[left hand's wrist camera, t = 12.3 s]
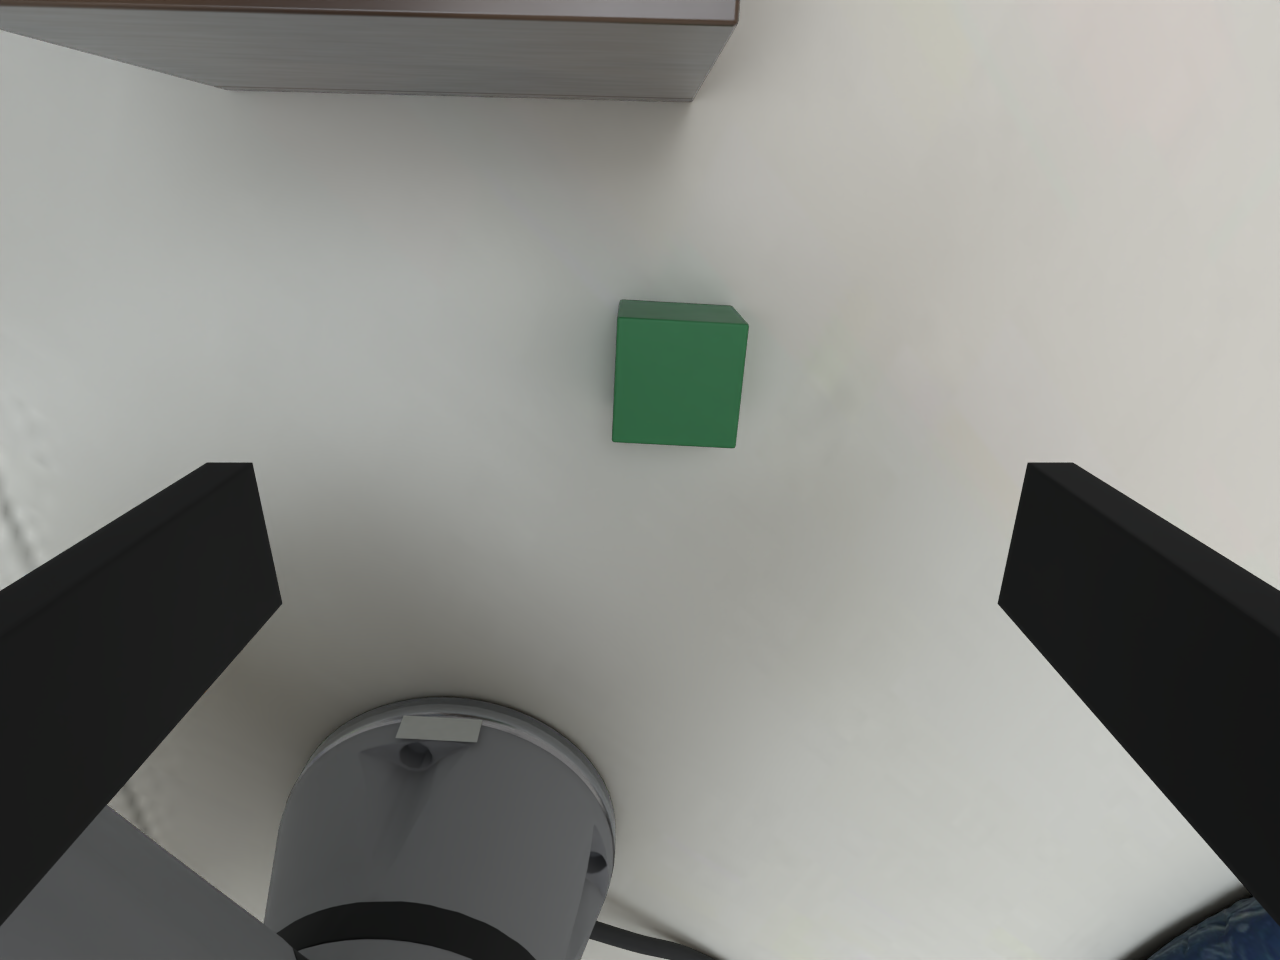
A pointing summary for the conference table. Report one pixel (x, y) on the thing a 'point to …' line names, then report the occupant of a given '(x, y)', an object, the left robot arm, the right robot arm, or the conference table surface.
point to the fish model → (1228, 936)
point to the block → (678, 373)
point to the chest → (402, 43)
